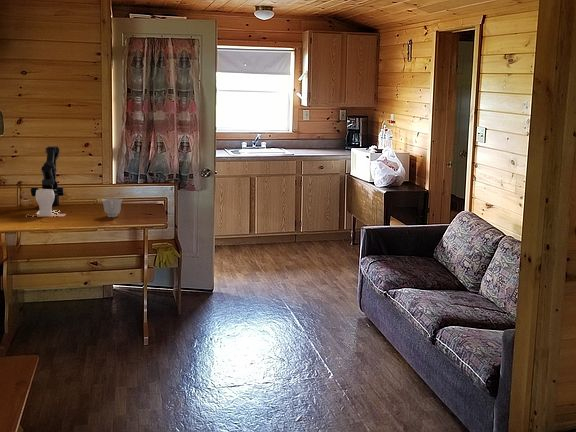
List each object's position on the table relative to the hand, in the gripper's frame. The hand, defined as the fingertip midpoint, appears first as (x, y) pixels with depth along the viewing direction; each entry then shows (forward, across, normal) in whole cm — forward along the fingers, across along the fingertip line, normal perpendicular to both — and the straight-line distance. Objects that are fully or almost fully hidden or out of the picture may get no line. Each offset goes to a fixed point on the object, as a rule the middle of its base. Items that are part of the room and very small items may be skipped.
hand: (46, 202), depth 424 cm
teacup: (+14, +39, -4) cm, 41 cm away
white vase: (+8, 0, +1) cm, 8 cm away
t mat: (+4, 0, +6) cm, 7 cm away
